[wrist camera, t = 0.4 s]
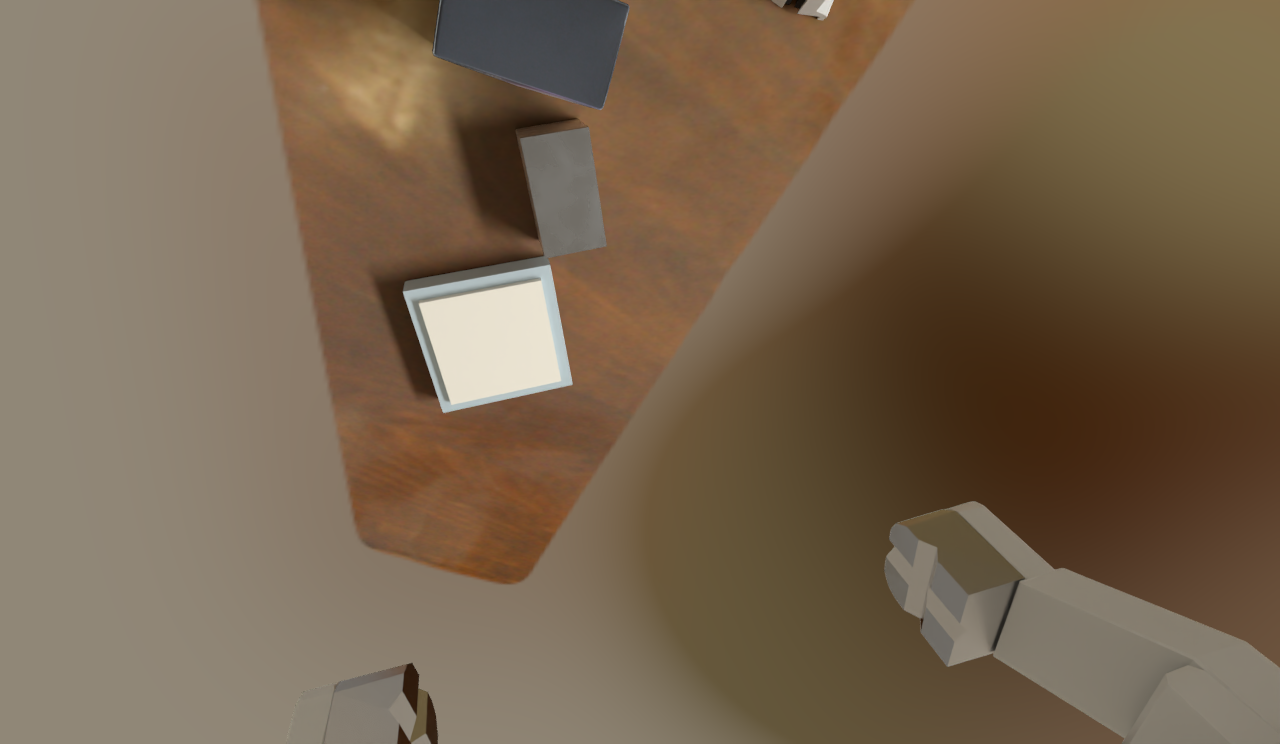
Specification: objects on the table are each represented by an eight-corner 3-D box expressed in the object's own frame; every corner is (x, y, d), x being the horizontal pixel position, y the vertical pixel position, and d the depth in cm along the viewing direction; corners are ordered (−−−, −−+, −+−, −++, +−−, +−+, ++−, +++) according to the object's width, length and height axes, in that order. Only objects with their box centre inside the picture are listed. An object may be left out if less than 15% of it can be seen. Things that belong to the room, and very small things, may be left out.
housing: (514, 128, 46) (519, 138, 42) (577, 118, 47) (588, 127, 42) (538, 239, 51) (545, 258, 46) (595, 228, 51) (606, 246, 47)
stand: (405, 281, 49) (402, 294, 47) (546, 255, 51) (551, 266, 49) (444, 399, 56) (442, 416, 53) (568, 372, 57) (573, 387, 55)
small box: (434, 53, 42) (426, 59, 33) (449, -52, 39) (445, -76, 31) (576, 99, 46) (603, 115, 37) (599, 6, 43) (633, 0, 34)
